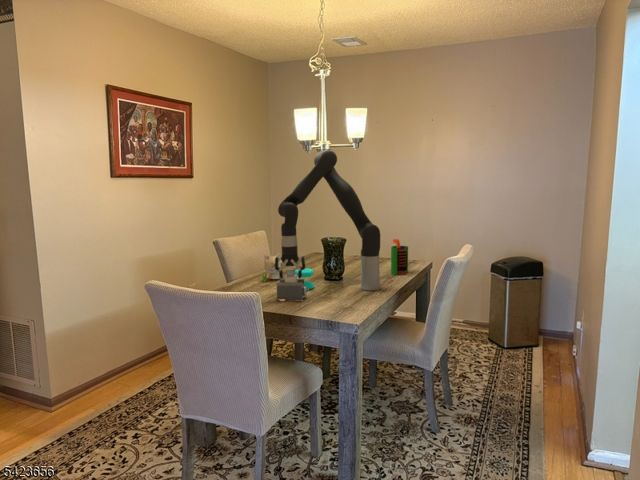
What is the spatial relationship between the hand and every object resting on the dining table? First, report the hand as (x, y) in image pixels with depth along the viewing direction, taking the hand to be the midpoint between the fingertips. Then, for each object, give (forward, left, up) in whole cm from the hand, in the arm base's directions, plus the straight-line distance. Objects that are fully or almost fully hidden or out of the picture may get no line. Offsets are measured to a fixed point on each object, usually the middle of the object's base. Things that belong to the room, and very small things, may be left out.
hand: (290, 278), depth 220 cm
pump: (0, 0, -3) cm, 3 cm away
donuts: (-4, -19, -10) cm, 22 cm away
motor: (-55, -53, -10) cm, 77 cm away
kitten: (+16, -39, -10) cm, 43 cm away
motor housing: (0, 0, -10) cm, 10 cm away
